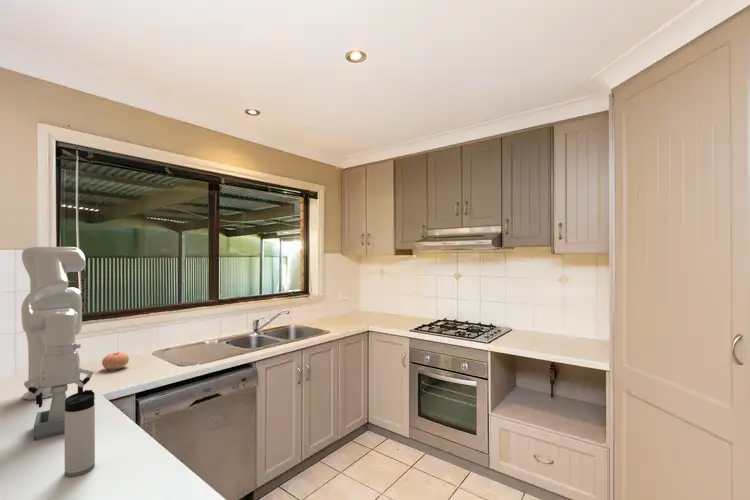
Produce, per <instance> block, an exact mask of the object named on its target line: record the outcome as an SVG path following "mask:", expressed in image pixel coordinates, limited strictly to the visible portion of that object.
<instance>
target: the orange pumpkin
mask: <svg viewBox="0 0 750 500" xmlns="http://www.w3.org/2000/svg"><path fill="white" fill-rule="evenodd" d="M129 360H130V358H129V355H128V354H127V353H125V352H121V351H120V352H119V351H117V352H112V353H108V354H107V355H106V356H104V357H103V358H102V360H101V364H102V367H103V368H104V369H106V370H108V371H115V370H120V369H122V368H124V367H126V365H128V363H129Z"/></svg>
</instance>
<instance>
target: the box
mask: <svg viewBox="0 0 750 500" xmlns="http://www.w3.org/2000/svg"><path fill="white" fill-rule="evenodd" d="M49 411H50V409H48V410H43V411H38V412H36V416H35V421H34V424H33V441H39V440H42V439H46V438H51V437H55V436H59V435H65V418H63V419H58V420H54V421H49V422H48V416H49Z"/></svg>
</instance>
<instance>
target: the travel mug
mask: <svg viewBox="0 0 750 500" xmlns="http://www.w3.org/2000/svg"><path fill="white" fill-rule="evenodd" d="M95 399H96V398H95V392H94V391H93V389H85V390H83V392H79V393H78V392H76V393H74V394H71V395H69V396H68V397H67V398H66V399H65V433H64V476H65V477H70V478H73V477H74V478H75V477H79V476H82V475H85V474H87V473H89V472H90V471H92V470H93V469H94V468H95V466H96V460H95V459H96V455H95V452H96V447H95V446H96V440H95V439H96V435H95V434H96V433H95V432H96V429H95V428H96V426H95V425H96V414H95V413H96V411H95V410H96V404H95V403H96V402H95Z"/></svg>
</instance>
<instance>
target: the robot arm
mask: <svg viewBox="0 0 750 500" xmlns="http://www.w3.org/2000/svg"><path fill="white" fill-rule="evenodd" d="M21 252H22V253H21V261H22V264H23V266H24V268H25V270H26V272H27V274H28V276H29V282H30V283H29V284H30V285H29V286H30V287H29V289H30V291H29V293H28V294H27V295H26V296H25V298H24V300H23V301H22V305H21V308H20V310H21V325H22V330H23V331H24V332H25V334H26V335H25V336H26V340H27V349H28V350H27V351H28V353H27V354H28V356H27V357H28V360H27V361H28V362H27V363H28V366H27V367H28V370H27V371H28V372H27V373H28V375H27V376H28V377H27V378H28V379H27V380H26V381H24V384H23V386H24V387H25V388H26V389H27V391H26V392H25V393H24V394H23V395H22V399H24V400H26V399H27V400H29V401H31V400H32V401H33V400H35V405H36V406H37V405H38V408H42V407H43V399H46V398H52V397H53V394H51V387H55V386H61V385H66V384H67V385H71V384H76V385H77V393H79V392H84V388H85V387H84V386H85V385H86V384H87V383H88V382H90V380H91V378H92V376H93V375H94V370H91V369H87V368H82V367H81V359H80V354H79V352H78V350H77V349H81V343H76V336H77V335H79V334H80V333H81V332H82V328H83V309H82V308H83V299H82V298H83V297H82V293H81V291H80V289H79V288H76V287H69V279H68V273H72V272H73V273H77V272H79V273H80V272H82V271H84V269H85V267H86V257H85V254H84V252H83V251H82V250H81V249H79V247H76V246H32V247H31V246H30V247H27V248H25V249H23V250H22V251H21ZM81 374H85V375H86V377H84V378H83V380H82V379H81V378H80V377H81Z"/></svg>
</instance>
